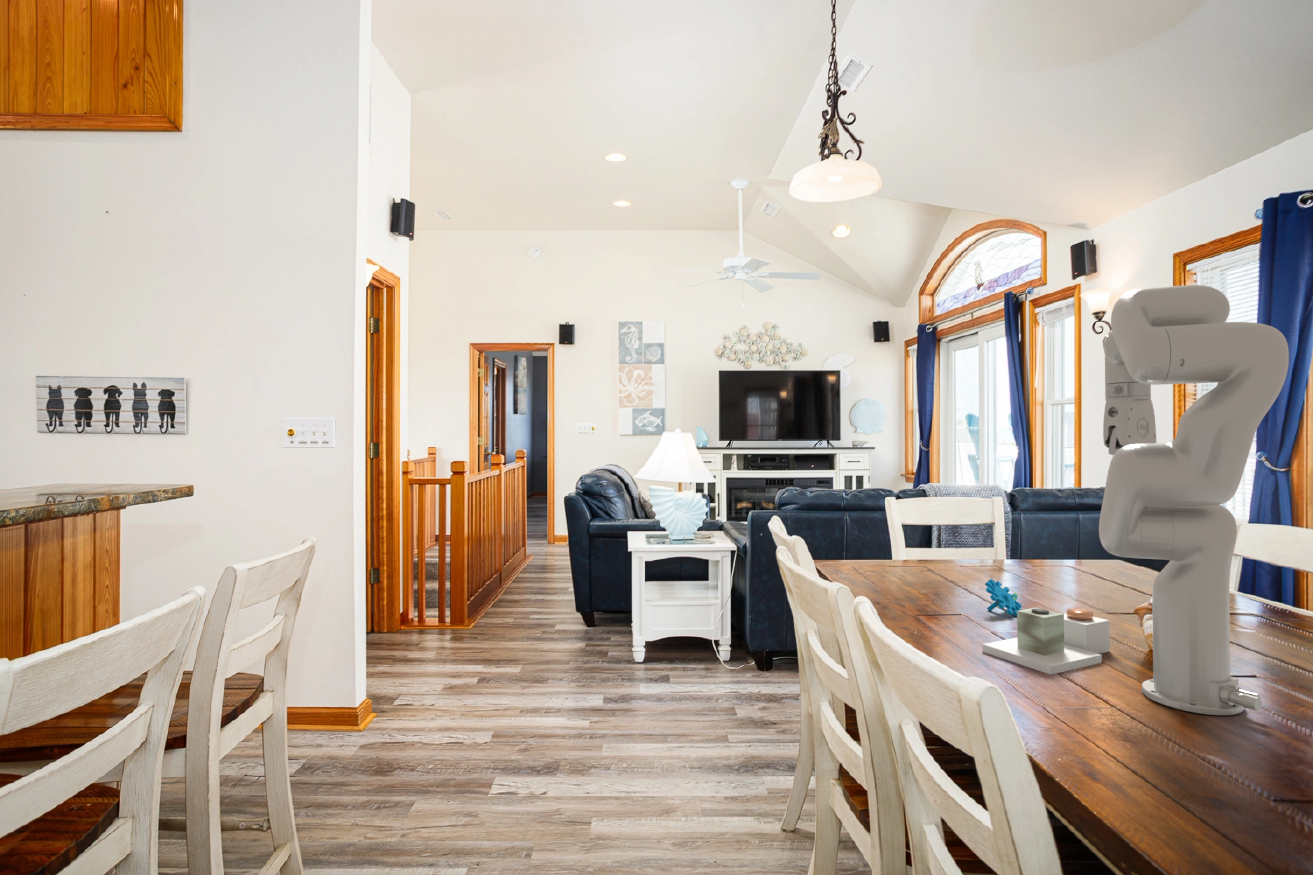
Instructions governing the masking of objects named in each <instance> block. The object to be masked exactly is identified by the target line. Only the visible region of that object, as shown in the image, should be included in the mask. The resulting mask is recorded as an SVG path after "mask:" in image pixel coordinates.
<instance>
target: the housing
mask: <svg viewBox="0 0 1313 875" xmlns="http://www.w3.org/2000/svg"><path fill="white" fill-rule="evenodd" d="M1064 614H1065V613H1061V612H1057V611H1053V610H1049V609H1045V608H1040V607H1032V608H1025V609H1022V610H1019V611H1017V617H1016V618H1017V619H1016V621H1017V622H1016V625H1017V626H1016V627H1017V628H1016V629H1017V632H1016V633H1017V635H1016V636H1017V637H1016V638H1017V642H1018V648H1021V649H1025V650H1028V651H1031V652H1034V653H1037V654H1041V655H1044V656H1046V655H1050V654H1055V653H1060V652H1064Z"/></svg>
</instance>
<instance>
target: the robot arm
mask: <svg viewBox="0 0 1313 875" xmlns="http://www.w3.org/2000/svg"><path fill="white" fill-rule="evenodd" d="M1230 311H1231V308H1230V302H1229V299H1228V297H1226V295H1225V293H1223V292H1222V291H1220V290H1219V289H1218V288H1215V287H1212V286H1208V285H1203V284H1202V285H1201V284H1200V285H1199V284H1188V285H1187V284H1186V285H1173V286H1162V287H1161V286H1160V287H1159V286H1158V287H1148V288H1147V287H1146V288H1136V289H1132V290H1129V291H1127V292H1125V293H1124V294H1122V295H1121V296H1120V297H1119V298H1118V299H1117V300H1116V302H1115V303H1114V305H1113V308H1112V311H1111V317H1110V328H1111V330H1110V331H1108V333H1107V335H1106V336H1105V337H1104V339H1103V352H1104V384H1105V385H1104V388H1105V389H1104V390H1105V392H1104V394H1105V395H1104V396H1105V397H1104V398H1105V404H1104V405H1105V406H1104V413H1103V424H1102V425H1103V427H1102V429H1103V432H1102V434H1103V435H1102V437H1103V438H1102V439H1103V444H1104V446H1105V448H1108V454H1109V455H1111V456H1112V458H1111V460H1110V461H1109V462H1110V463H1109V466H1108V471H1107V476H1106V481H1105V487H1104V492H1103V498H1102V503H1101V509H1100V515H1099V522H1098V536H1099V541H1100V543H1101V545H1102V547H1103V549H1104V550H1105V551H1107V553H1109V554H1111V555H1114V556H1116V557H1120V558H1128V559H1129V558H1132V559H1144V560H1145V559H1151V560H1164V561H1169V562H1168V563H1167V564H1166V565H1165V566H1164V567H1163V569H1161V571H1160V572H1159V573H1158V574H1157V576H1156V577H1155V578H1154V581H1153V584H1152V588H1151V589H1152V593H1151V595H1152V598H1151V600H1152V609H1151V610H1152V678H1151V679H1147V680H1144V681H1143V682H1142V683H1141V685H1140V686H1141V692H1142V694H1143V695H1145V697H1147V698H1148V699H1150V700H1152V701H1154V702H1155V703H1157V704H1160V705H1164V706H1167V707H1170V708H1173V709H1176V710H1181V711H1185V712H1188V713H1194V714H1201V715H1202V714H1203V715H1210V716H1232V715H1238V714H1241V713H1242V712H1244V711H1245V710H1244V708H1246V709H1248V710H1252V711H1256V712H1259V711H1260V710H1261V709H1262V706H1263V702H1262V699H1261V696H1260V694H1259V693H1256V692H1251V691H1249V690H1245V689H1242V688H1241V687H1240V686H1239V678H1237V677H1233V676H1231V640H1230V639H1231V636H1230V633H1231V631H1230V630H1231V628H1230V624H1231V623H1230V622H1231V621H1230V580H1231V568H1232V562H1233V557H1234V556H1233V555H1234V551H1235V547H1236V546H1235V545H1236V541H1237V537H1238V536H1237V534H1238V527H1237V526H1238V525H1237V521H1236V519H1235V517H1234V515H1233V513H1232V512H1231V511H1230V510H1229V509H1227V508H1226V507H1225V506H1223V505H1224V504H1225V503H1228V502H1229V501H1231V499H1232V498H1233V497H1234V496H1235V494H1236V493H1237V491H1238V488H1239V486H1240V484H1241V481H1242V477H1243V475H1244V471H1245V468H1246V464H1247V461H1248V458H1249V455H1250V452H1251V447H1252V445H1253V442H1254V438H1255V435H1256V431H1257V430H1258V427H1260V426H1259V425H1260V424H1261V423H1262V421H1263V419H1264V417H1265V416H1266V415H1267V413H1268V412H1269V411H1270V409H1271V407H1272V406H1273V404H1274V403H1275V401H1276V400H1277V398H1278V397H1279V394H1280V393H1281V391H1282V389H1283V387H1284V384H1285V382H1286V378H1287V375H1288V370H1289V363H1290V350H1289V345H1288V341H1287V338H1286V337H1285V336H1284V334H1283V333H1282V332H1281V331H1280V330H1279V329H1277V328H1276V327H1274V326H1271V325H1268V324H1265V323H1258V322H1250V321H1249V322H1248V321H1229V322H1227V320H1228V318H1229V316H1230ZM1206 383H1207V384H1208V383H1209V384H1213V383H1217V384H1216V386H1214V388H1212V389H1211V390H1210V391H1208V392H1206V393H1205V394H1203V395H1202V396H1200V397H1199V398H1197V400H1196V401H1194V402H1193V403H1192V404H1191V405H1190V406H1189V407H1188V408H1187V409H1186V410H1185V411H1184V412H1183V414H1181V417H1180V418H1179V422H1178V424H1177V425H1178V426H1177V431H1176V436H1175V438H1174V439H1173V440H1172V441H1169V442H1158V443H1157V426H1156V416H1155V410H1154V405H1153V401H1152V390H1151V388H1152V386H1154V385H1155V386H1156V385H1181V384H1182V385H1185V384H1187V385H1188V384H1206ZM1222 504H1223V505H1222Z"/></svg>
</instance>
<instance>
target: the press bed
mask: <svg viewBox="0 0 1313 875" xmlns="http://www.w3.org/2000/svg"><path fill="white" fill-rule="evenodd" d="M1063 614H1064V652H1060V653H1055V654H1050V655H1046V656H1044V655H1041V654H1037V653H1034V652H1031V651H1028V650H1025V649H1021V648H1018V642H1017V637H1012V638H1007V639H1003V640H1002V639H1001V640H997V641H996V640H995V641H992V642H986V643H982V653H984V654H987V655H991V656H994V657H996V658H1000V659H1003V660H1006V661H1007V662H1008V661H1010V662H1012V663H1015V664H1018V665H1021V666H1024V667H1026V668H1030V669H1033V670H1036V671H1038V672H1041V673H1045V674H1047V675H1055V674H1060V673H1063V672H1068V671H1073V670H1078V669H1082V668H1085V667H1090V666H1094V664H1095V665H1099V664H1102V663H1101V662H1103V660H1102V659H1103V658H1102V656H1103V655H1102V654H1104V653H1109V652H1110V651H1111V650H1110V649H1111V648H1110V646H1111V644H1110V642H1111V640H1110V638H1111V635H1110V634H1111V633H1110V630H1111V629H1110V627H1111V626H1110V620H1109V619H1106V618H1100V617H1096V616H1093V619H1090V620H1085V621H1080V620H1076V619H1073V618H1071V617H1068V616H1067V612H1066V613H1063ZM1099 653H1100V654H1099ZM1098 663H1099V664H1098ZM1077 668H1078V669H1077ZM1072 669H1073V670H1072Z"/></svg>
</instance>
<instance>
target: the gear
mask: <svg viewBox="0 0 1313 875" xmlns="http://www.w3.org/2000/svg"><path fill="white" fill-rule="evenodd" d="M984 585H985V586H986V588H985V592H987V593H988V594H990V600H991V601H993V603H991V604H990V605H989V606H987V607H986V609H987V611H988V612H991V611H993V610H994V609H995V608H997V607H998V608H999V609H1000V610H1003V609H1005V608H1006V611H1005V613H1006V614H1008V615H1009V616H1012V615H1013V616H1014V617H1016V618H1017V611H1019V610H1023V609H1022V607H1023V604H1022V603H1020V602H1019V601H1017V600H1018V597H1019V595H1018V593H1016V592H1014V593H1010V588H1009V587H1007V586H1004V587H1003V588H1002V585H1003V583H1002V582H1000V581H999V580H997V581H995V580H994V579H992V578H990V579H989V580H988V581H986V582H985V583H984Z"/></svg>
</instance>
